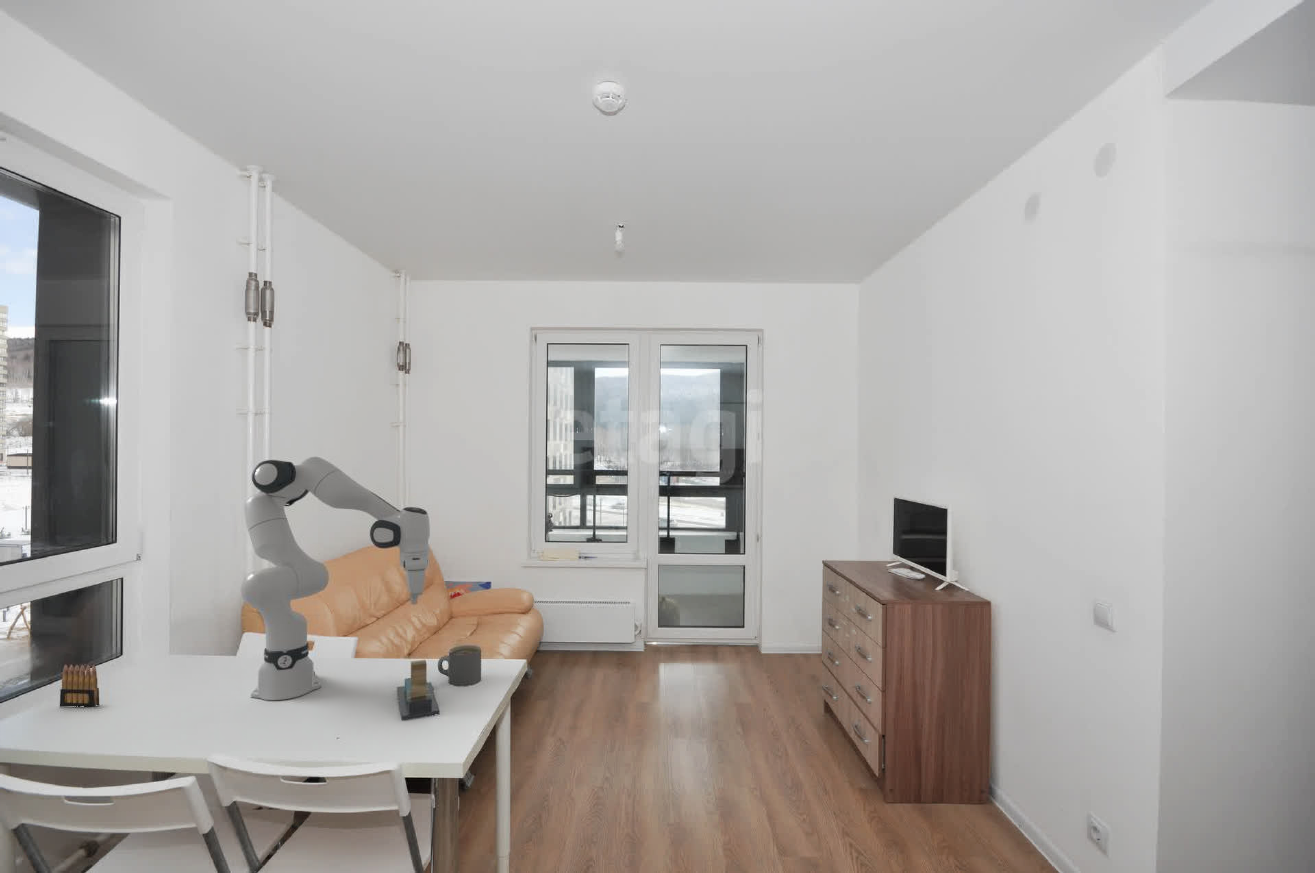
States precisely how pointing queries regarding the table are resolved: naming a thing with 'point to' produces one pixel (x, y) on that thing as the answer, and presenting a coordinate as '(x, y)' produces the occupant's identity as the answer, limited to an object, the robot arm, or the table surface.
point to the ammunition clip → (79, 687)
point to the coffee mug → (462, 665)
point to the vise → (417, 704)
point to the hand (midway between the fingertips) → (413, 603)
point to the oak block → (418, 678)
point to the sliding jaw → (408, 688)
